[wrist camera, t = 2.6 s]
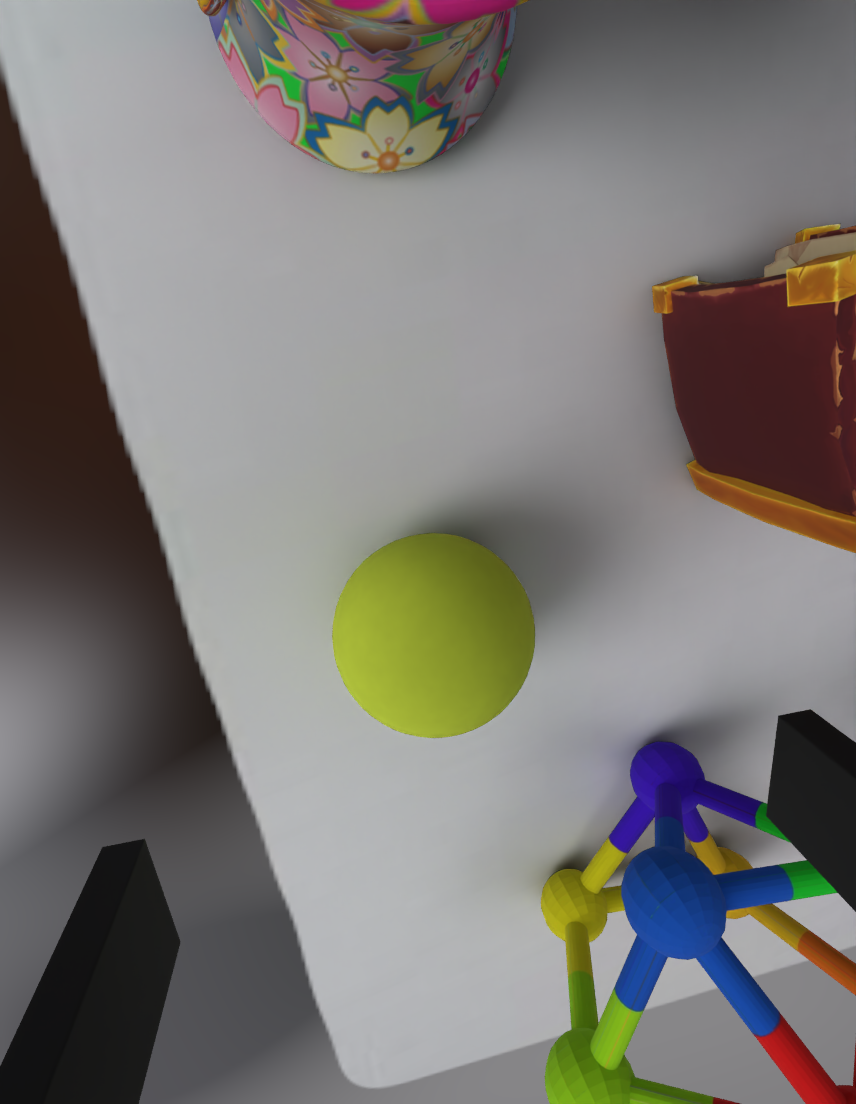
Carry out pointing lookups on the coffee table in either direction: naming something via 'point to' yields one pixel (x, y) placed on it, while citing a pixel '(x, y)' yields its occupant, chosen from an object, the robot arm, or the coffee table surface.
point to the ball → (433, 635)
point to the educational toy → (678, 935)
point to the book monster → (772, 385)
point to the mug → (366, 72)
